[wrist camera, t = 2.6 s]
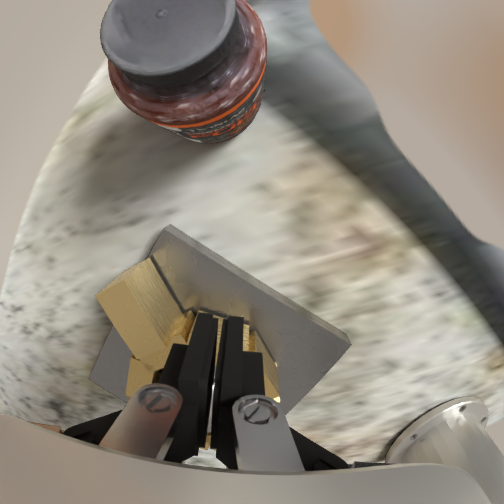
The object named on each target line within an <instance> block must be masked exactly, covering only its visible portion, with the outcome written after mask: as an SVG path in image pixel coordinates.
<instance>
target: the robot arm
mask: <svg viewBox="0 0 504 504" xmlns="http://www.w3.org/2000/svg"><path fill="white" fill-rule="evenodd" d="M243 329H244V317H238V316H229V319H223V323H222V329H221V336H220V343H219V350H218V357H217V364H216V371H215V362H216V347H217V333H218V318H213V314H210V313H201V312H198V315H197V318H196V322H195V325H194V328H193V331H192V335H191V338H190V341H189V345H185V344H178V343H173V345H172V347H171V350H170V352H169V355H168V358H167V360H166V363H165V366H164V368H163V371H162V374H161V376H160V379H159V382H158V383H153V384H148V385H144V386H142V387H141V388H139V389H138V390H137V391H136V392H135V393H134V394H133V396H132V397H131V399H130V400H129V402H128V403H127V405H126V406H125V407H124V409H123V410H120V411H117V412H114V413H111V414H109V415H106V416H103V417H100V418H97V419H94V420H91V421H88V422H85V423H81V424H78V425H75V426H72V427H70V428H68V429H67V430H65V431H62V430H61V428H60V427H58V426H51V425H45V424H39V423H34V422H29V421H24V420H22V419H19V418H16V417H14V416H11V415H8V414H5V413H1V412H0V504H504V455H503V454H502V452H501V451H500V450H499V448H498V447H497V445H496V444H495V442H494V441H493V440H492V438H491V437H490V435H489V434H488V432H487V431H486V430H485V427H486V425H487V421H488V417H489V411H488V408H487V406H486V405H485V404H484V402H483V401H482V400H481V399H479V398H477V397H472V396H470V397H461V398H458V399H454V400H451V401H449V402H446V403H444V404H442V405H440V406H438V407H436V408H434V409H433V410H431V411H429V412H428V413H426V414H425V415H423V416H422V417H420V418H419V419H418V420H416V421H415V422H414V423H413V424H411V425H410V426H409V427H408V428H407V429H406V430H405V431H404V432H403V433H402V434H401V435H400V436H399V437H398V438H397V439H396V440H395V442H394V443H393V445H392V446H391V447H390V449H389V451H388V453H387V455H386V459H385V463H369V462H356V461H354V463H353V465H352V464H347V463H346V462H345V461H344V460H342V459H341V458H340V457H338V456H336V455H335V454H333V453H331V452H329V451H328V450H326V449H324V448H323V447H321V446H319V445H318V444H316V443H314V442H313V441H311V440H310V439H308V438H306V437H305V436H303V435H301V434H300V433H298V432H297V431H295V430H294V429H292V428H291V427H289V425H288V422H287V420H286V417H285V414H284V411H283V409H282V407H281V405H280V404H279V403H278V402H277V401H275V400H274V399H272V398H270V397H267V396H265V384H264V370H263V356H262V352H250V351H243ZM214 377H215V378H214ZM213 386H214V387H213ZM212 393H213V403H212V422H211V442H210V449H216V458H217V459H219V460H220V461H221V462H222V463H223V464H224V465H226V469H222V468H212V467H203V466H195V465H188V464H185V460H186V459H188V458H190V457H192V456H194V455H195V456H198V451H199V447H201V448H205V445H206V437H207V430H208V422H209V415H210V407H211V400H212Z"/></svg>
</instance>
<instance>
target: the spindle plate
mask: <svg viewBox="0 0 504 504" xmlns="http://www.w3.org/2000/svg"><path fill="white" fill-rule="evenodd" d="M149 257H150V259H151V261H152V263H153V265H154V266H155V268H156V270H157V272H158V273H159V275H160V277H161V278H162V280H163V282H164V284H165V285H166V287H167V289H168V290H169V292H170V294H171V295H172V297H173V299H174V300H175V302H176V304H177V305H178V307H179V308H180V310H181V312H182V313H183V314H184V313H186V312H188V311H190V310H191V311H192V313H193V314H194V316H195V317H196V316H197V313H198V311H199V310H201V311H204V312H207V313H210V314H213V315H216V316H219V317H222V318H226V319H229V316H238V317H244V324H245V325H249V333H250V332H252V331H255V330H256V332H257V334H258V336H259V337H260V339H261V341H262V343H263V344H264V346H265V348H266V349H267V351H268V353H269V355H270V356H271V358H272V360H273V361H274V363H275V365H276V367H277V372H278V382H279V393H280V403H279V404H280V405H281V407H282V409H283V411H284V414H285V415H286V414H287V413H288V412H289V411H290V410H291V409H292V408H293V407H294V406H295V405H296V404H297V403H298V402H299V401H300V400H301V399H302V398H303V397H304V396H305V395H306V394H307V393H308V392H309V391H310V390H311V389H312V388H313V387H314V386H315V385H316V384H317V383H318V382H319V381H320V380H321V379H322V377H323V376H324V375H325V374H326V373H327V372H328V371H329V370H330V369H331V368H332V367H333V365H334V364H335V363H336V362H337V361H338V360H339V359H340V358H341V356H342V355H343V354H344V353H345V352H346V351H347V350H348V348H349V347H350V346H351V345H352V344H351V342H350V340H349V338H348V336H347V334H346V333H344V332H342V331H341V330H339V329H337V328H336V327H334V326H332V325H331V324H329V323H327V322H326V321H324V320H322V319H321V318H319V317H318V316H316V315H314V314H313V313H311V312H309V311H308V310H306V309H304V308H303V307H301V306H300V305H298V304H296V303H295V302H293V301H291V300H290V299H288V298H287V297H285V296H283V295H282V294H280V293H279V292H277V291H275V290H274V289H272V288H270V287H269V286H267V285H266V284H264V283H262V282H261V281H259V280H258V279H256V278H254V277H253V276H251V275H250V274H248V273H246V272H245V271H243V270H242V269H240V268H238V267H237V266H235V265H234V264H232V263H231V262H229V261H227V260H226V259H224V258H223V257H221V256H219V255H218V254H216V253H215V252H213V251H212V250H210V249H208V248H207V247H205V246H204V245H202V244H201V243H199V242H197V241H196V240H194V239H193V238H191V237H190V236H188V235H187V234H185V233H183V232H182V231H180V230H179V229H177V228H176V227H174V226H173V225H171V224H170V225H168V226H167V227H165V228H164V229H163V231H162V232H161V234H160V236H159V238H158V240H157V241H156V243H155V245H154V247H153V249H152V250H151V252H150V254H149V256H148V258H149ZM132 355H133V353H132V352H131V350H130V349H129V347H128V346H127V344H126V343H125V342H124V340H123V339H122V337H121V336H120V334H119V333H118V331H117V330H116V328H115V327H114V325H113V326H112V328H111V330H110V333H109V335H108V337H107V339H106V341H105V343H104V346H103V348H102V350H101V352H100V354H99V357H98V359H97V361H96V363H95V366H94V368H93V370H92V372H91V375H90V377H89V379H90V380H91V381H93V382H94V383H96V384H97V385H99V386H101V387H102V388H104V389H105V390H107V391H108V392H110V393H112V394H113V395H115V396H116V397H118V398H120V399H121V400H123V401H125V402H126V403H128V399H129V396H126V387H127V380H128V373H129V366H130V359H131V356H132ZM162 371H163V368H162V369H161V371H160V373H161V374H162ZM215 371H216V366H215ZM214 378H215V377H214ZM213 387H214V386H213ZM212 403H213V393H212V400H211V407H210V415H209V422H208V430H207V432H211V422H212Z"/></svg>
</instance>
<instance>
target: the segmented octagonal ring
mask: <svg viewBox="0 0 504 504" xmlns="http://www.w3.org/2000/svg"><path fill="white" fill-rule="evenodd" d="M95 296H96V298H97V300H98V301H99V303H100V305H101V306H102V308H103V309H104V311H105V313H106V314H107V316H108V317H109V319H110V320H111V322H112V324H113V325H114V327H115V328H116V330H117V331H118V333H119V334H120V336H121V337H122V339H123V340H124V342H125V343H126V344H127V346H128V347H129V349H130V350H131V352H132V353H133V355H132V356H131V359H130V366H129V373H128V380H127V387H126V396H129V399H128V402H129V400H130V399H131V397H132V396H133V394H134V393H135V392H136V391H137V390H138V389H139V388H141V387H142V386H144V385H148V384H153V383H158V382H159V379H160V376H161V373H160V371H161V369H162V368H164V366H165V363H166V360H167V358H168V355H169V352H170V350H171V347H172V345H173V343H178V344H185V345H189V341H190V338H191V335H192V331H193V328H194V325H195V322H196V318H197V316H196V317H195V316H194V314H193V313H192V311H191V310H190V311H188V312H186V313H184V314H183V313H182V312H181V310H180V308H179V307H178V305H177V304H176V302H175V300H174V299H173V297H172V295H171V294H170V292H169V290H168V289H167V287H166V285H165V284H164V282H163V280H162V278H161V277H160V275H159V273H158V272H157V270H156V268H155V266H154V265H153V263H152V261H151V259H150V257H149V258H147V259H145V260H144V261H142V262H140V263H138V264H136V265H134V266H133V267H131V268H129V269H127V270H125V271H124V272H123V273H121V274H120V275H119V276H118V277H117V278H115V279H114V280H113V281H112V282H111V283H109V284H108V285H107V286H106V287H105V288H103V289H102V290H101V291H100V292H99V293H98V294H96V295H95ZM198 312H201V313H207V312H204V311H201V310H199V311H198ZM197 315H198V313H197ZM213 318H218V333H217V347H216V362H215V366H216V364H217V357H218V350H219V343H220V336H221V329H222V323H223V319H226V318H222V317H219V316H216V315H213ZM243 351H250V352H262V356H263V370H264V384H265V396H267V397H270V398H272V399H274V400H275V401H277V402H278V403H280V393H279V382H278V372H277V367H276V365H275V363H274V361H273V360H272V358H271V356H270V355H269V353H268V351H267V349H266V348H265V346H264V344H263V343H262V341H261V339H260V337H259V336H258V334H257V332H256V330H255V331H252V332H250V333H249V325H245V324H244V329H243ZM210 442H211V432H207V437H206V445H205V448H202V449H205V450H208V448H209V445H210ZM199 448H201V447H199ZM214 450H216V449H214Z"/></svg>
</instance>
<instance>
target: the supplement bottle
mask: <svg viewBox="0 0 504 504" xmlns="http://www.w3.org/2000/svg"><path fill="white" fill-rule="evenodd" d="M100 39H101V45H102V48H103V51H104V53H105V55H106V56H107V58H108V70H109V77H110V80H111V83H112V86H113V88H114V90H115V92H116V94H117V96H118V97H119V99H120V100H121V101H122V102H123V103H124V104H125V105H126V106H127V107H128V108H129V109H130V110H132V111H133V112H134V113H136V114H137V115H139V116H141V117H143V118H145V119H147V120H149V121H151V122H153V123H155V124H157V125H159V126H161V127H163V128H165V129H167V130H170V131H171V132H174V133H176V134H178V135H180V136H182V137H184V138H186V139H189V140H192V141H196V142H201V143H217V142H222V141H225V140H228V139H231V138H233V137H235V136H237V135H238V134H240V133H241V132H243V131H244V130H245V129H246V128H247V127H248V126H249V125H250V124H251V123H252V121H253V120H254V118H255V116H256V114H257V112H258V110H259V108H260V105H261V100H262V95H263V92H264V91H265V90H264V91H263V85H264V79H265V71H266V56H267V39H266V34H265V31H264V28H263V25H262V22H261V20H260V19H259V17H258V15H257V14H256V12H255V11H254V10H253V8H252V7H251V6H250V5H249V4H248V3H247V2H246V1H244V0H112V2H111V3H110V5H109V6H108V9H107V11H106V12H105V15H104V17H103V20H102V23H101V30H100Z"/></svg>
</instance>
